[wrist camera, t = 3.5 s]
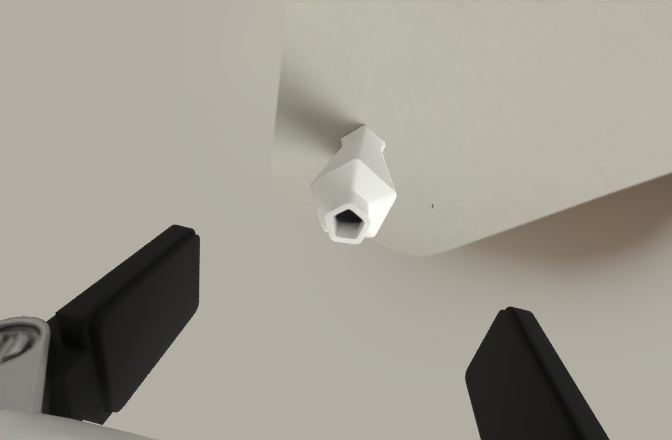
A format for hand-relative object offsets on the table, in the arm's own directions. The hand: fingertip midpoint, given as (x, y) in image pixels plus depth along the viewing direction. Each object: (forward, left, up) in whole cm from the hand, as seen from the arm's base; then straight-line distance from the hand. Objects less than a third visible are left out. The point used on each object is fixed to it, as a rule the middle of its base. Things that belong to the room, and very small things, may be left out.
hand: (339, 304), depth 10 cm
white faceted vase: (0, 0, -21) cm, 21 cm away
